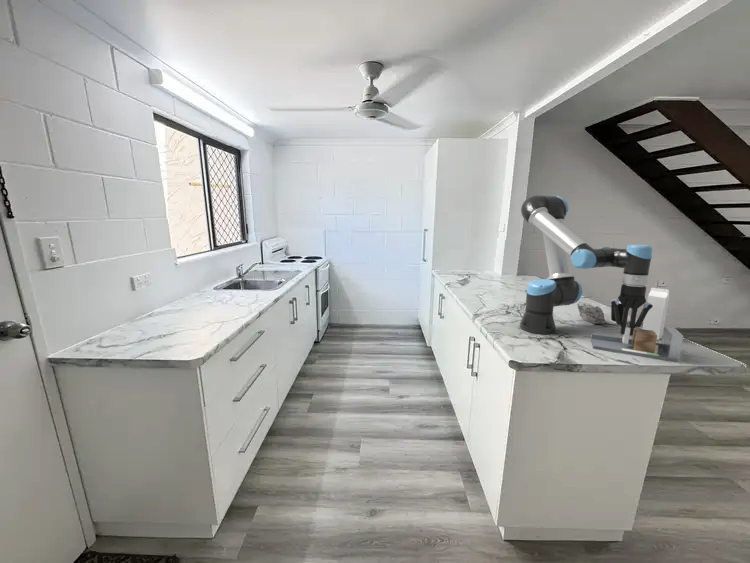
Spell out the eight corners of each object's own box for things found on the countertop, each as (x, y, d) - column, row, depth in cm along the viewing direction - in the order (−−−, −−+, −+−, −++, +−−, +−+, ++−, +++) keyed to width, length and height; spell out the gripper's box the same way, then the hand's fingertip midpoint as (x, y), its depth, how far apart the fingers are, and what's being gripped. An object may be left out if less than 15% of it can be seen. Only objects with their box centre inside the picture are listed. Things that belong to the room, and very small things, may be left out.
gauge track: (592, 348, 128) (593, 341, 128) (590, 340, 137) (591, 333, 136) (678, 362, 116) (679, 354, 115) (669, 352, 124) (671, 344, 124)
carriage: (634, 350, 122) (637, 333, 121) (631, 344, 128) (633, 328, 127) (657, 354, 119) (660, 336, 118) (652, 347, 125) (655, 330, 124)
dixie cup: (603, 320, 164) (606, 299, 161) (618, 319, 164) (621, 299, 162) (616, 325, 156) (620, 303, 154) (631, 324, 156) (635, 303, 154)
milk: (658, 340, 137) (667, 290, 132) (640, 336, 141) (649, 288, 137) (662, 337, 140) (671, 288, 136) (644, 333, 145) (653, 286, 140)
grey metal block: (668, 357, 117) (672, 334, 115) (660, 348, 126) (664, 326, 124) (678, 359, 116) (683, 336, 114) (670, 349, 124) (674, 327, 122)
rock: (572, 315, 171) (575, 298, 168) (588, 314, 171) (592, 297, 167) (588, 329, 157) (592, 311, 153) (606, 329, 156) (610, 311, 152)
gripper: (614, 285, 122) (606, 342, 127) (658, 288, 116) (648, 348, 120) (611, 281, 128) (604, 336, 133) (653, 284, 122) (643, 342, 127)
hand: (625, 342), depth 127 cm, fingers closed
